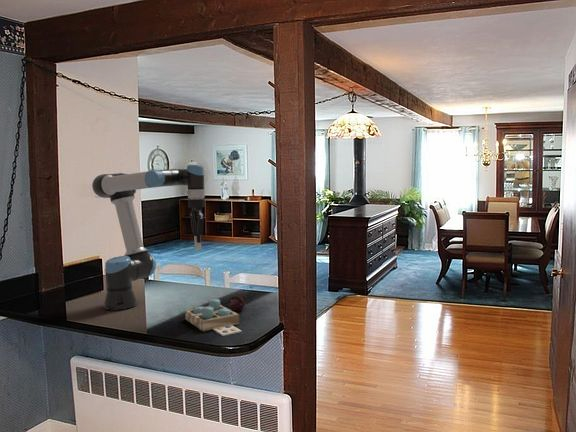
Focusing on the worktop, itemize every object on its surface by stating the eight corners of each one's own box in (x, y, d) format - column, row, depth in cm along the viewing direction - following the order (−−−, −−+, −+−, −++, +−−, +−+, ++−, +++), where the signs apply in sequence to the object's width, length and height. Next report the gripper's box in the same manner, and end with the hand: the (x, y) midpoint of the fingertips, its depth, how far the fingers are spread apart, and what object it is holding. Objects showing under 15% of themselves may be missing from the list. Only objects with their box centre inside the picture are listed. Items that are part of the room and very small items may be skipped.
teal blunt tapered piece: (216, 320, 216) (216, 309, 216) (227, 318, 219) (226, 307, 218) (221, 323, 212) (220, 312, 212) (232, 321, 215) (231, 310, 214)
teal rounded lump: (192, 318, 221) (191, 307, 220) (202, 316, 223) (202, 305, 223) (196, 321, 217) (195, 310, 216) (206, 319, 219) (206, 308, 219)
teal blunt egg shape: (207, 310, 224) (207, 300, 224) (217, 308, 227) (217, 298, 227) (211, 313, 220) (211, 302, 220) (222, 311, 223) (221, 300, 222)
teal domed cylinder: (200, 319, 212) (199, 308, 212) (211, 317, 215) (210, 306, 215) (204, 321, 208) (204, 310, 208) (215, 319, 211) (215, 308, 210)
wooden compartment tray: (185, 319, 222) (185, 310, 222) (219, 312, 231) (219, 304, 230) (203, 331, 205) (202, 321, 205) (239, 323, 214) (238, 314, 213)
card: (212, 329, 207) (212, 327, 207) (230, 325, 212) (230, 323, 211) (222, 336, 199) (222, 334, 199) (241, 332, 203) (241, 330, 203)
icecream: (237, 302, 224) (252, 296, 238) (222, 296, 227) (239, 291, 241) (233, 317, 225) (249, 310, 239) (219, 311, 228) (235, 305, 242)
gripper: (183, 198, 239) (185, 248, 241) (193, 199, 227) (195, 252, 230) (199, 197, 242) (200, 246, 245) (209, 198, 231) (211, 250, 234)
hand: (198, 249), depth 238 cm, fingers closed
